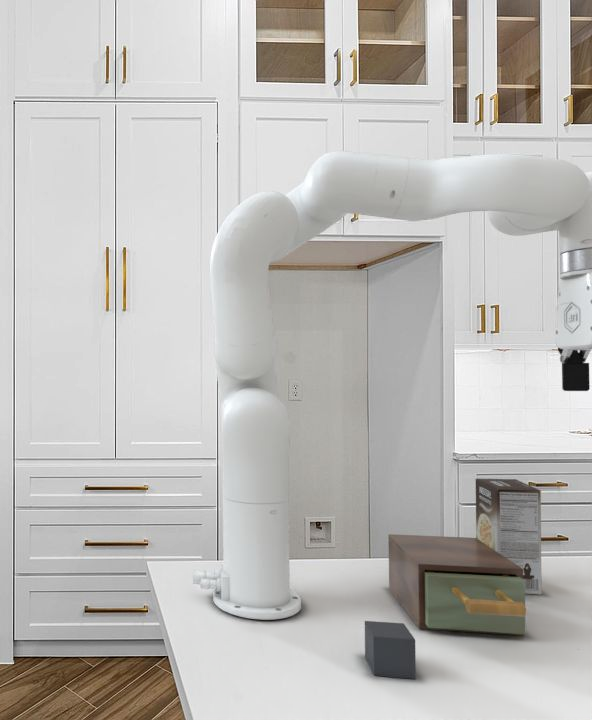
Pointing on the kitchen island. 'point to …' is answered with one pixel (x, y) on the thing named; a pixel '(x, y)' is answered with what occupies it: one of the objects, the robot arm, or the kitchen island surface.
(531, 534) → the coffee box
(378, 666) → the block
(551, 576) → the kitchen island surface
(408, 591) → the cabinet
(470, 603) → the drawer
